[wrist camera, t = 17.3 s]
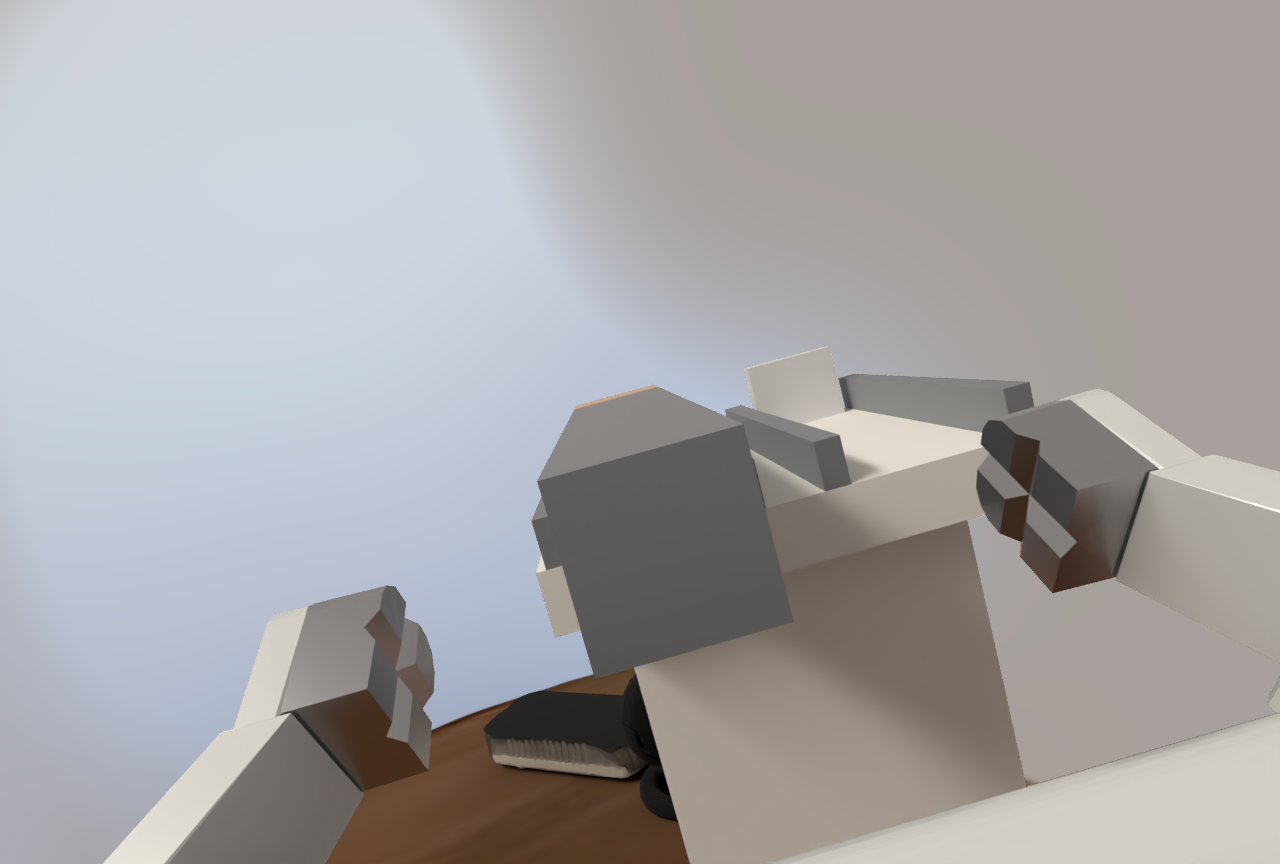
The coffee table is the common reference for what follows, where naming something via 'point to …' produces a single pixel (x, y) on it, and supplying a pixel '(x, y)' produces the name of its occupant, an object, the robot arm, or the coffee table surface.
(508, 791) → the coffee table surface
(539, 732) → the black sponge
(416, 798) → the coffee table surface
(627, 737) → the webcam
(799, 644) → the tester stand
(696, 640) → the long grey square bar
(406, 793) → the coffee table surface
